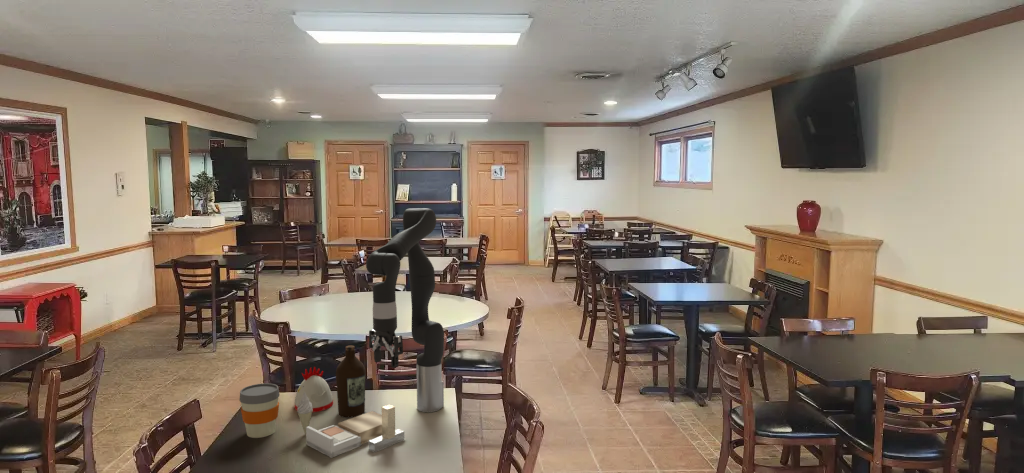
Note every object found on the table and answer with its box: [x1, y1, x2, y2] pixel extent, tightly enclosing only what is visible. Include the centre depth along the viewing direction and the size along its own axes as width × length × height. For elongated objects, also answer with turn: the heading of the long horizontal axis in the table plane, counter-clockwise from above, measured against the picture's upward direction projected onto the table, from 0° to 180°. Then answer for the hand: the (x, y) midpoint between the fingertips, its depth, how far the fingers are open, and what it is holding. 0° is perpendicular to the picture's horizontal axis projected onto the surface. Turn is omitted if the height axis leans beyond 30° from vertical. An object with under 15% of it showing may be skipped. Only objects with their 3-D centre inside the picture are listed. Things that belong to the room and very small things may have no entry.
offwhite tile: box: [331, 431, 354, 444], centre depth 196 cm, size 5×5×2 cm
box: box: [305, 424, 362, 459], centre depth 197 cm, size 11×14×6 cm
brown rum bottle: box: [335, 345, 367, 419], centre depth 223 cm, size 11×11×25 cm
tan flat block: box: [337, 410, 382, 445], centre depth 206 cm, size 14×12×4 cm
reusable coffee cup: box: [238, 382, 281, 439], centre depth 206 cm, size 12×13×15 cm
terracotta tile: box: [322, 427, 344, 437], centre depth 200 cm, size 5×5×2 cm
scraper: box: [368, 404, 405, 453], centre depth 197 cm, size 4×12×13 cm, turn 139°
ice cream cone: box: [296, 391, 313, 435], centre depth 205 cm, size 5×5×15 cm
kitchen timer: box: [294, 366, 334, 413], centre depth 230 cm, size 14×14×15 cm
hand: (386, 364), depth 196 cm, fingers open, 8 cm apart
